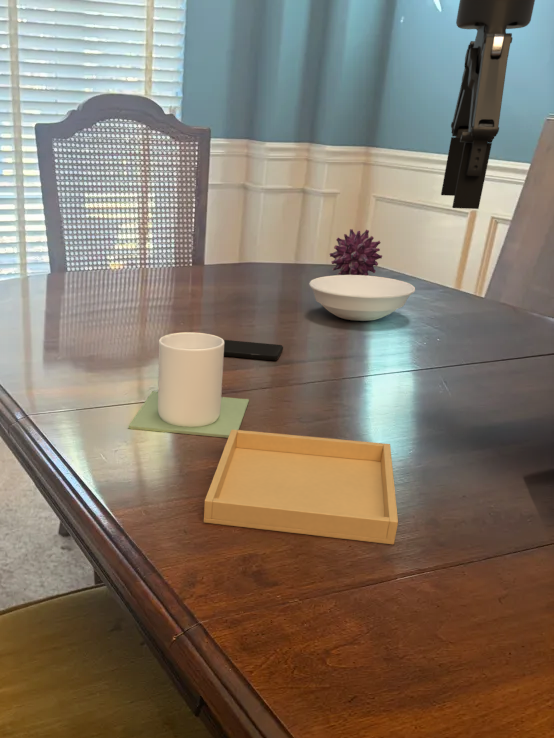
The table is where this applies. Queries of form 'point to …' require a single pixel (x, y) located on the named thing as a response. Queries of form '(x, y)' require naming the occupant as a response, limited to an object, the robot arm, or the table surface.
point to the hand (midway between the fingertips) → (458, 201)
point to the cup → (190, 378)
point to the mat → (221, 427)
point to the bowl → (360, 295)
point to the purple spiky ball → (356, 254)
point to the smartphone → (252, 350)
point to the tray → (305, 486)
